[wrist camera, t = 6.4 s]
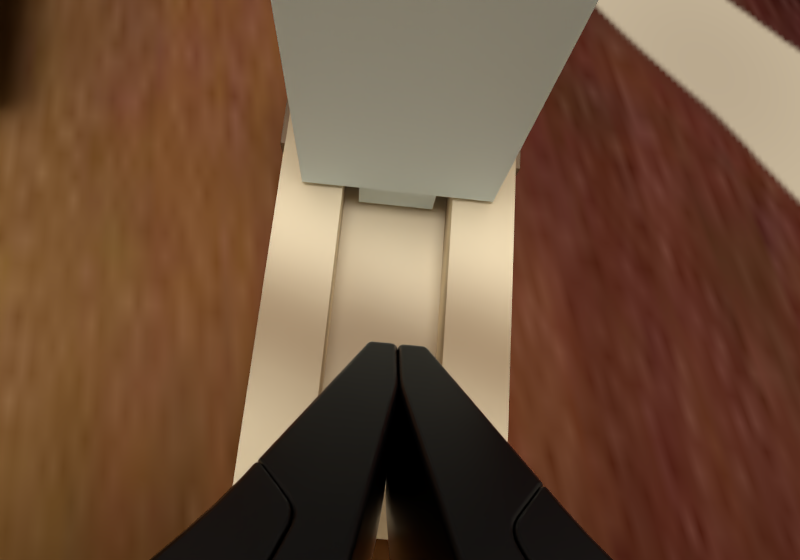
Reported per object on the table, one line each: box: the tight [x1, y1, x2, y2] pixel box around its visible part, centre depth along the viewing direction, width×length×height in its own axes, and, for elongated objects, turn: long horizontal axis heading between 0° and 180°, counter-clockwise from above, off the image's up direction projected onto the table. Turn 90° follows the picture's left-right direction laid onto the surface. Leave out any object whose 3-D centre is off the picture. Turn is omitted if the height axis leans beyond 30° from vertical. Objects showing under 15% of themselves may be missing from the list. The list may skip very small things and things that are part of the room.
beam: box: [233, 98, 520, 540], centre depth 18 cm, size 20×6×3 cm, turn 176°
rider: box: [271, 0, 598, 209], centre depth 13 cm, size 4×5×10 cm
